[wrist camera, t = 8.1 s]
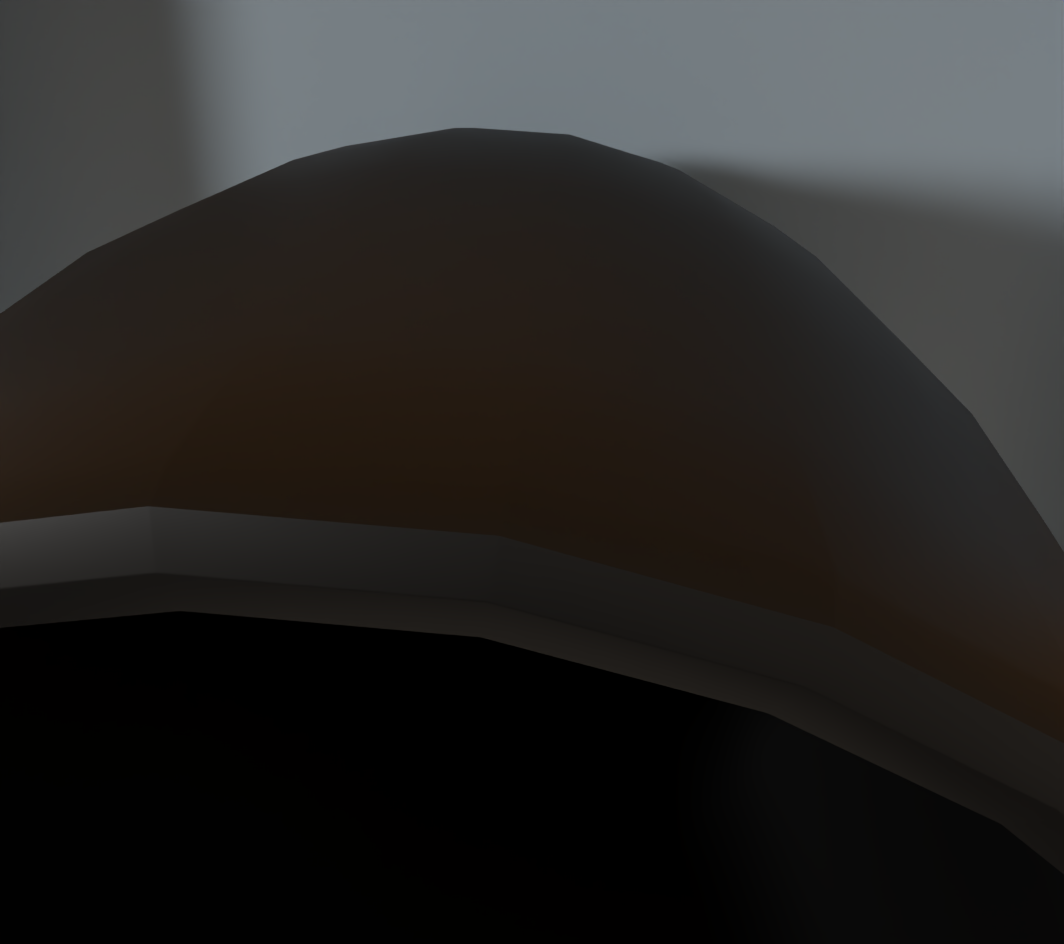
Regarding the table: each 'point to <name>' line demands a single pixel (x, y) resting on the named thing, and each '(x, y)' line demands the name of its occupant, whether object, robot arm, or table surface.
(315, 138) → the bin
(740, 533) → the mug
